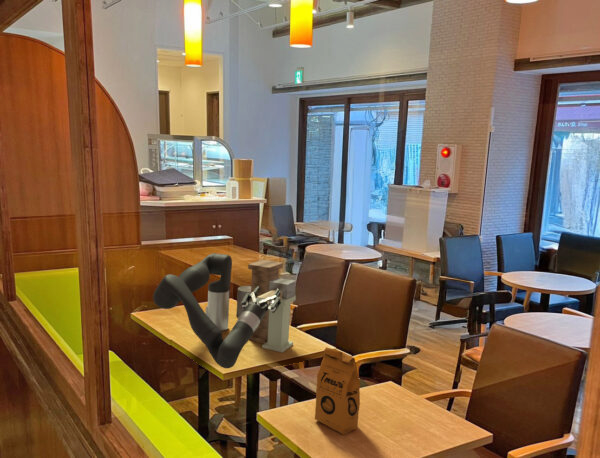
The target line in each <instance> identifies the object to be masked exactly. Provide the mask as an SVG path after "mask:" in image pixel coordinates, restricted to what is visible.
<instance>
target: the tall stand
mask: <svg viewBox="0 0 600 458" xmlns="http://www.w3.org/2000/svg"><path fill="white" fill-rule="evenodd" d="M282 268H284V262H279V261H272V260H267V259H260V260H258V261H257V260H256V261H255V262H251V263H248V265H247V269H248V270H251V280H250V281H251V282H250V283H251V285H250V286H251V293H252V292H253V291H254V290H255V288H257V287H260V289H261V291H260V292H259V294H258V295H257V297H258V296H261V295H263V294H265V293H267V292H269V282H270V281H272V280H274V279H277V278H280V277H279V276H280V274H279V273H280V269H282ZM257 297H256V299H257ZM251 301H253V300H252V298H251ZM268 325H269V310H268V311H267V312H266V313H265V315H264V317H263V319H262V321H261V322H260V324H259V326H258V327H257V329H256V330H255V331H254V333H253V334H252V336H251V337H250V339H249V340H248V341H252V342H257V343H262V344H265V343H266V342H268Z"/></svg>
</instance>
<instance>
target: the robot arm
mask: <svg viewBox="0 0 600 458" xmlns="http://www.w3.org/2000/svg"><path fill="white" fill-rule="evenodd" d="M232 268H233V259H232V257H231V255H229V254H224V253H223V254H222V253H215V252H214V253H210V254H208V255H207V256H205V257H204V258H203V259H202V260H201V261H199V262H197V263H196V264H193V265H191V266H190V267H187V268H186V269H185V270H184V271H182V272H181V273H180V274H179V275H178V276H177V275H174V274H171V273H169V274H166V275H164V276H163V278H162V279H161V281H160V282H159V284H157V287H156V288H155V290H154V292H153V294H152V299H153V302H154V305H156V306H157V307H158V308H161V309H164V310H170V309H173V308H175V307H176V306H177V305H178V304H179V303H180V302H181V303H182V305H183V306H184V309H185V311H186V312H185V313H186V315H187V318H188V323H189V325H190V328H191V329H192V331H193V333H194V334H195V335H196V337H198V339H199V340H200V341H201V342H202V343H203V344H204V345H205V347H206V348H207V351H208V353H209V354H210V355H211V358H212V359H213V360H214V361H215V362H214V363H215V364H217V365H218V366H219V367H221V368H223V369H231V368H233V367H234V366H235V364H236V363H237V361H238V358H239V356H240V354H241V352H242V351H243V349H244V347H245V345H246V344H247V343H248V342H249V341H250V340H249V339H250V337H251V336H252V334H253V333H254V331H255V330H256V329H257V327H258V326H259V324H260V322H261V321H262V319H263V317H264V315H265V313H266V312H267V311H268V310H269V311H272V313H274V312H275V311H276V310H277V308H278V307H279V305H280V304H281V301H280V297H279V296H280V295H281V293H280V290H279V289H277V290H276V292H275V293H274V296H272V297H268V298H266V299H261V298H257V299H256V297H257V295H258V294H259V292H260V291H261V289H260V287H257V288H255V290H254V291H253V292H252V293H251V294H249V293H247V294H246V295H245V297H244V298H243V300H242V302H241V304H242V307H243V308H245V309H244V310H243V312H242V313H241V315H240V316H239V318H238V317H237V318H238V319H237V320H236V322H235V323H234V326H233V327H232V329H231V331H230V332H229V333H228V334H227V335H226V336H225V337H224V339H223V332H224V331H227V330H228V328H229V313H230V311H229V310H230V289H231V288H230V287H231V279H232ZM210 275H215V276H220V278H219V279H217V280H214V281H211V282H210V283H209V280H210ZM207 283H208V286H207V287H208V290H207V291H208V292H207V305H206V306H205V311H204V310H203V308H202V307H201V304H200V303H199V302H198V300H197V298H196V297H195V296H194V294H193V293H194V292H196V291H198V290H200V289H201V288H203V287H204V286H205V285H207ZM251 298H252V300H253V301H251V302H249V301H250V299H251ZM273 299H274V300H273ZM272 300H273V301H272ZM267 301H269V304H268V303H267ZM248 302H249V303H248ZM222 331H223V332H222Z"/></svg>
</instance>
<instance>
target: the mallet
mask: <svg viewBox="0 0 600 458" xmlns="http://www.w3.org/2000/svg"><path fill="white" fill-rule="evenodd" d="M296 287H297V280H294V279H288V278H282V277H279V278H277V279H274V280H272V281H270V282H269V292H267V293H265V294H263V295H261V296H258V297H257V298H261V299H266V298H268V297H272V296H274V293H275V292H276V290H277V289H279V290H280V293H281V295H280V296H279V297H280V299H288V298H290V297H292V296H294V295H296ZM273 300H274V299H273ZM273 300H272V301H273ZM267 303H268V304H269V301H267Z"/></svg>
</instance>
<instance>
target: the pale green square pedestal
mask: <svg viewBox="0 0 600 458" xmlns="http://www.w3.org/2000/svg"><path fill="white" fill-rule="evenodd" d="M296 300H297V295H296V294H295V295H294V296H292V297H290V298H288V299H280V301H281V304H280V305H279V307H278V308H277V310H276V311H275V312H274V313H272V311H269V325H268V342H266V343H262V349H265V350H270V351H275V352H279V353H284V352H285V351H286V350H288V349H290V347H292V346H293V345H294V341H290V340H289V337H290V323H291V322H290V320H291V306H292V305H291V304H292V303H293V302H296Z"/></svg>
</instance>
